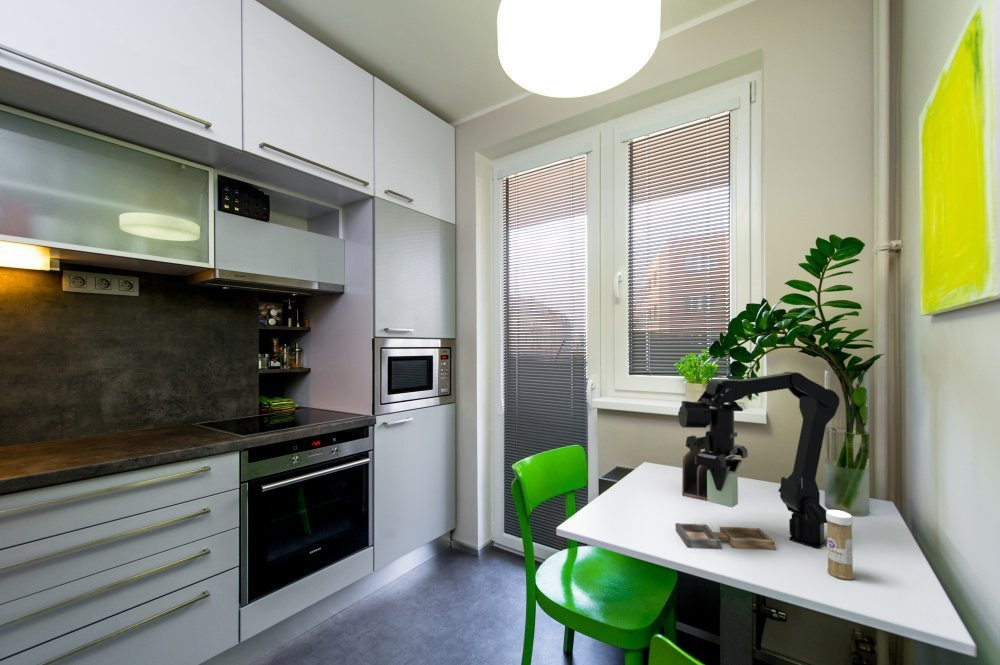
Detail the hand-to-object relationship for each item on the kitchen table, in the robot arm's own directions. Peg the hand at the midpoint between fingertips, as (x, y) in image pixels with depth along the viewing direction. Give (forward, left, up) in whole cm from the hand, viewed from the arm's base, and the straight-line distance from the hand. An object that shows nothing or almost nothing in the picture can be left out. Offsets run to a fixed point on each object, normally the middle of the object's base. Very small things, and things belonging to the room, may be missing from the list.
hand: (722, 488), depth 111 cm
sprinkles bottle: (-24, -3, -13) cm, 27 cm away
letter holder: (+21, -35, -14) cm, 43 cm away
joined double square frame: (0, 0, -13) cm, 13 cm away
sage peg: (0, 0, -4) cm, 4 cm away
